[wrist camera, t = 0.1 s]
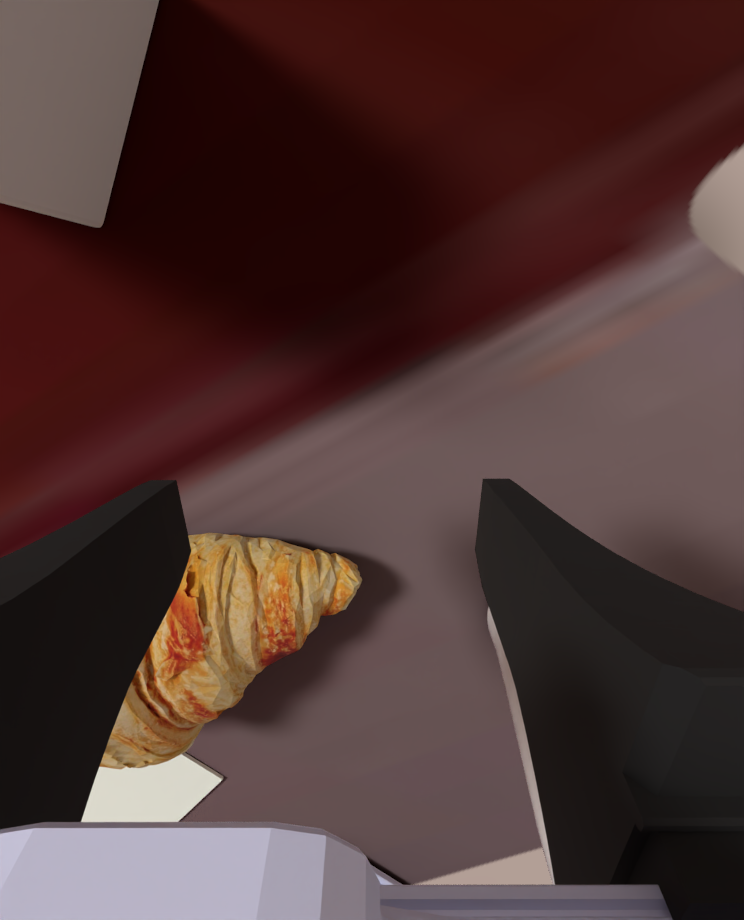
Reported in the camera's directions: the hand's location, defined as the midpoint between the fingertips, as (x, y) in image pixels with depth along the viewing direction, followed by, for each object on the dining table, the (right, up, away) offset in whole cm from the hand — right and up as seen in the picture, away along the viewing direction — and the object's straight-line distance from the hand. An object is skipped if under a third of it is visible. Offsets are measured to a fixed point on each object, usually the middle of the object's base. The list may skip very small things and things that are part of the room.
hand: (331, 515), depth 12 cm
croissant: (-10, -7, +13) cm, 18 cm away
